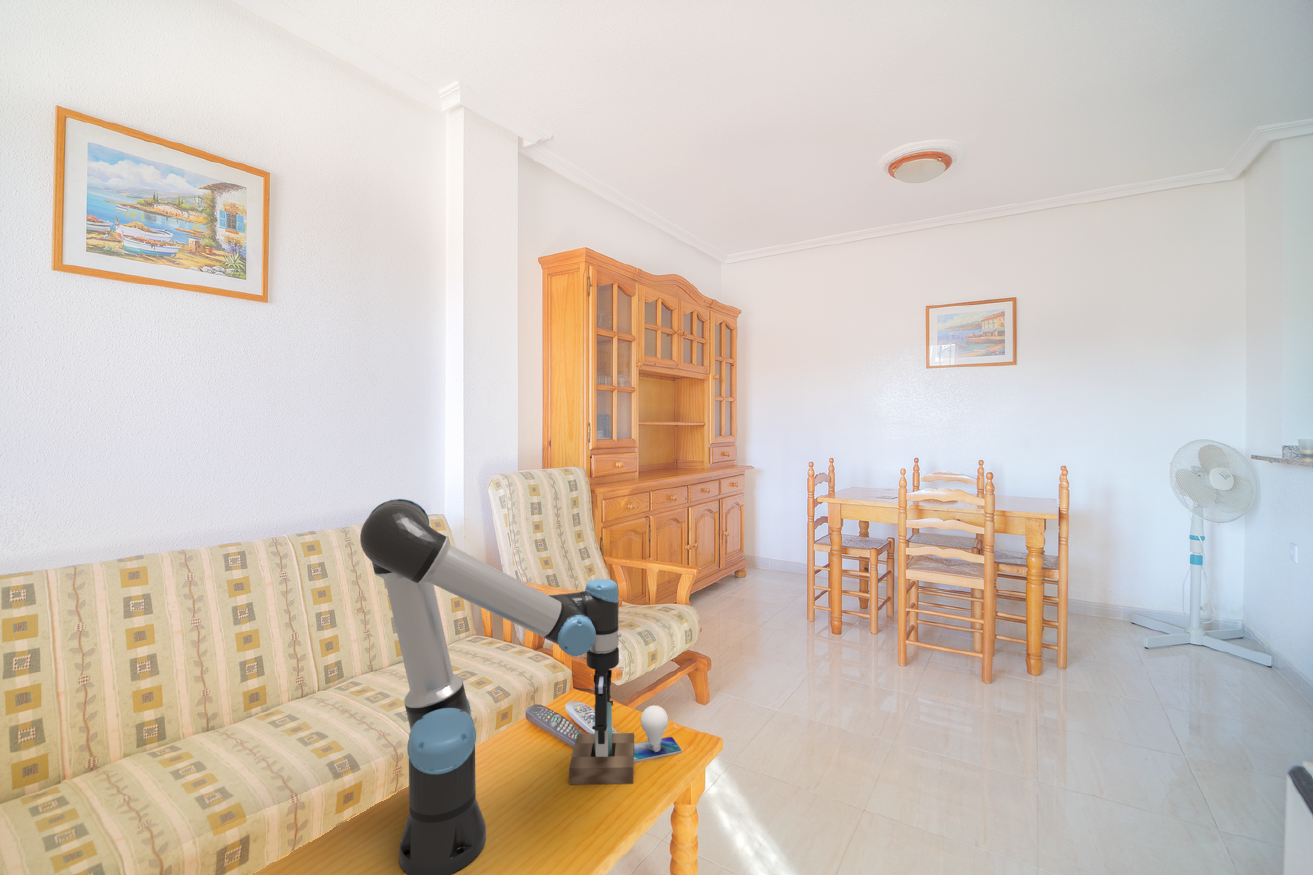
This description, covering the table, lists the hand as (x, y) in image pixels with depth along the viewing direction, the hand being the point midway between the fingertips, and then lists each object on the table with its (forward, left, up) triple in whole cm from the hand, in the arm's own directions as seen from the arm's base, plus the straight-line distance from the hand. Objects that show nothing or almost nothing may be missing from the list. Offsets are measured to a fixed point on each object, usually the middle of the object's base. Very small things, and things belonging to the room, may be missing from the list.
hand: (603, 744), depth 130 cm
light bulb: (+12, +5, -5) cm, 14 cm away
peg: (0, 0, -5) cm, 5 cm away
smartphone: (+11, +6, -5) cm, 13 cm away
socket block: (0, 0, -5) cm, 5 cm away
